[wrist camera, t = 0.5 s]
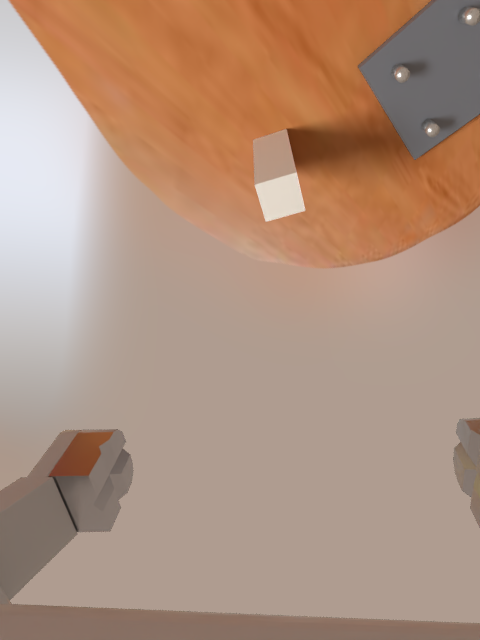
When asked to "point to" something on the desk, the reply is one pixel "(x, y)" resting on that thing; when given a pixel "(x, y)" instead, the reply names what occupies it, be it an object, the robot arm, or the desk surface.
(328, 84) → the desk surface
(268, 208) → the cream column
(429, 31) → the plate
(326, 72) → the desk surface
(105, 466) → the robot arm
